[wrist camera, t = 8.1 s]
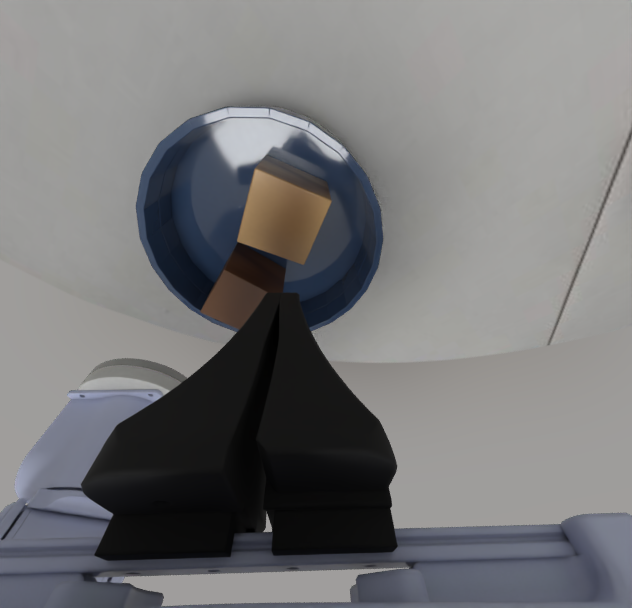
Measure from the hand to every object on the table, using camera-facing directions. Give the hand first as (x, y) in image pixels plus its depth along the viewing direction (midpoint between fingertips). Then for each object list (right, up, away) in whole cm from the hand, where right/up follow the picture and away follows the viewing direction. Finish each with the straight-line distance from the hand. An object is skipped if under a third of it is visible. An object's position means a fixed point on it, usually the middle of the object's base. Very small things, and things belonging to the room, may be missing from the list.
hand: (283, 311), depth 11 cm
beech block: (0, +7, +6) cm, 9 cm away
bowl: (-2, +6, +7) cm, 10 cm away
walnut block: (-4, +3, +9) cm, 10 cm away
